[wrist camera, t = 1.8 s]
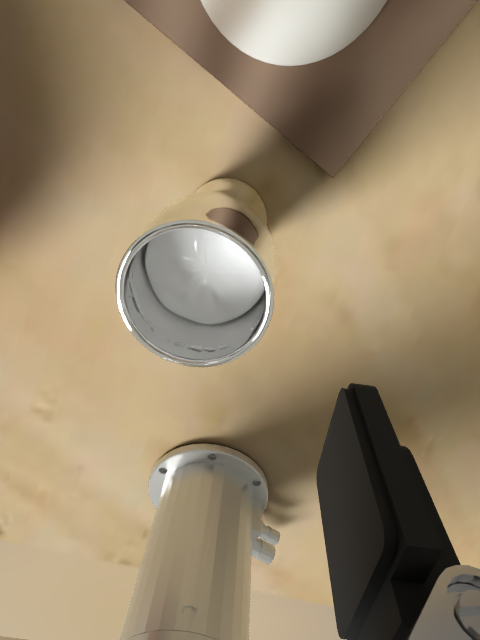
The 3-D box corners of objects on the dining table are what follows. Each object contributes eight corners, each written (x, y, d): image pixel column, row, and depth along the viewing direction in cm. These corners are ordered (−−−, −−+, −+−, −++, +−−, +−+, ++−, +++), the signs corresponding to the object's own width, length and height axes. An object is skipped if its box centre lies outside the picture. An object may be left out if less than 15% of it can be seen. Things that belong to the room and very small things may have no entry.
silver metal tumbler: (163, 232, 30) (83, 319, 17) (211, 150, 27) (159, 175, 14) (239, 281, 32) (220, 396, 18) (291, 207, 29) (315, 280, 15)
